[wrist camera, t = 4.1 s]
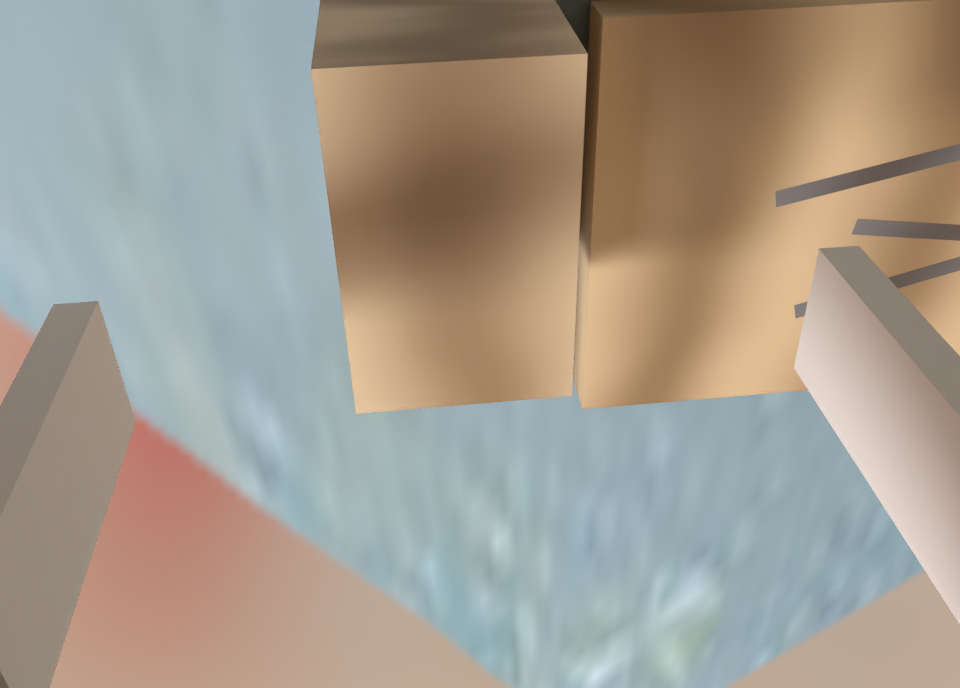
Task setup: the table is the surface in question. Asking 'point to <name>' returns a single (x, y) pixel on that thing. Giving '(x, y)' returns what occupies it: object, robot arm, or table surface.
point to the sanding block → (453, 195)
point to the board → (756, 182)
